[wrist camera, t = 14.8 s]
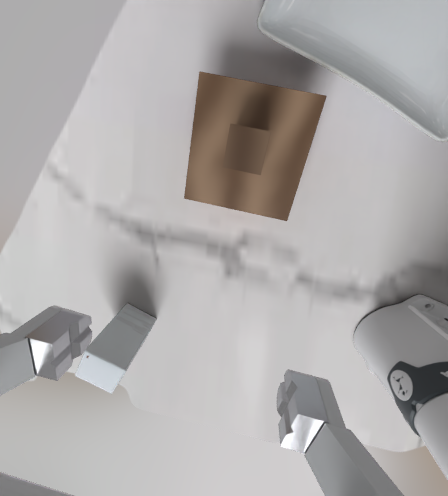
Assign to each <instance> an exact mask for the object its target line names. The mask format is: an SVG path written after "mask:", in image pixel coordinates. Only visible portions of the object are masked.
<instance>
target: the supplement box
mask: <svg viewBox="0 0 448 496" xmlns="http://www.w3.org/2000/svg"><path fill="white" fill-rule="evenodd" d="M155 321H156V318H154V317H152V316H150V315H149V314H147V313H145V312H143V311H141V310H139V309H137V308H136V307H134V306H132V305H130V304H128V303H127V304H126V305H125V306H124V307H123V308H122V309H121V311H120V312H119V313H118V314H117V315H116V316H115V317H114V318H113V319H112V321H111V322H110V323H109V324H108V325H107V326H106V327H105V328H104V329H103V331H102V332H101V333H100V334H99V335H98V336H97V337H96V338H95V339H94V340H93V342H92V343H91V344H90V345H89V346H88V347H87V349H86V350H85V351H84V354H83V357H82V359H81V362H80V364H79V366H78V369H77V371H76V374H75V376H76V377H78V378H81V379H83V380H85V381H87V382H89V383H91V384H93V385H95V386H97V387H99V388H101V389H103V390H105V391H107V392H109V393H111V394H112V393H113V392H114V390H115V388H116V387H117V385H118V384H119V382H120V381H121V379H122V377H123V376H124V374H125V372H126V371H127V369H128V367H129V366H130V364H131V362H132V361H133V359H134V357H135V356H136V354H137V352H138V351H139V349H140V347H141V346H142V344H143V343H144V341H145V339H146V338H147V336H148V334H149V332H150V331H151V329H152V327H153V325H154V323H155Z"/></svg>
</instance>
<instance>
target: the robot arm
mask: <svg viewBox="0 0 448 496" xmlns="http://www.w3.org/2000/svg"><path fill="white" fill-rule="evenodd" d="M426 304H427V305H426ZM91 323H92V321H91V316H88V315H85V314H82V313H79V312H75V311H72V310H69V309H65V308H62V307H58V306H51V307H49V308H47V309H46V310H44V311H43V312H41V313H40V314H38V315H37V316H35V317H34V318H32V319H31V320H29V321H28V322H26V323H25V324H24V325H22V326H21V327H19V328H18V329H16V330H15V331H13V332H12V333H3V334H0V396H1V395H2V394H4V393H6V392H8V391H9V390H11V389H13V388H15V387H17V386H19V385H21V384H22V383H24V382H26V381H28V380H30V379H32V378H33V377H35V375H36V376H41V377H45V378H48V379H52V380H56V381H58V380H59V378H60V377H61V376H62V375H63V374H64V373H65V372H66V371H67V370H68V369H69V368H70V367H71V366H72V362H73V359H74V358H76V357H78V356H80V355H82V354H83V353H84V351H85V350H86V349H87V347H88V346H89V344H90V342H91V339H92V331H91V329H90V328H89V325H90V324H91ZM354 346H355V349H356V350H357V352H358V353H359V354H360V355H361V357H362V358H363V359H364V360H365V361H366V365H367V368H368V370H369V371H370V372H371V374H373V375H375V376H376V377H377V378H378V379H379V381H380V382H381V384H382V385H383V386H384V388H385V389H386V390H387V392H388V393H389V395H390V396H391V397H392V399H393V400H394V401H395V403H396V404H397V406H398V408H399V409H400V411H401V413H402V414H403V417H404V419H405V420H406V422H407V423H408V424H409V425H410V427H411V428H412V430H413V431H414V432H415V433H416V434H417V435H418V436H419V437H421V438H422V440H423V441H424V443H425V445H426V446H427V448H428V449H429V451H430V453H431V454H432V456H433V458H434V459H435V461H436V462H437V464H438V466H439V467H440V469H441V471H442V472H443V474H444V475H445V477H446V479H447V480H448V306H447V305H445V304H443V303H440V302H438V301H436V300H433V299H431V298H429V297H427V296H424V295H416V296H413V297H411V298H409V299H407V300H406V301H404V302H402V303H400V304H396V305H392V306H388V307H384V308H381V309H379V310H377V311H375V312H373V313H371V314H370V315H368V316H367V317H366V318H365V319H363V320H362V321H361V323H360V324H359V325H358V327H357V329H356V331H355V333H354ZM284 379H285V381H284V382H282V383H281V384H280V386H279V389H278V393H277V411H278V413H279V414H280V416H281V420H280V422H279V424H278V425H279V435H280V446H282V447H285V448H288V449H292V450H294V451H297V452H300V453H304V454H305V457H306V459H307V461H308V463H309V465H310V467H311V469H312V471H313V473H314V475H315V477H316V479H317V481H318V483H319V485H320V487H321V488H322V491H323V493H324V494H325V496H404V495H403V494H402V493H401V491H400V490H399V489H398V488H397V486H396V485H395V484H394V483H393V482H392V480H391V479H390V478H389V477H388V475H387V474H386V473H385V472H384V471H383V469H382V468H381V467H380V466H379V464H378V463H377V462H376V461H375V459H374V458H373V457H372V456H371V455H370V453H369V452H368V451H367V450H366V449H365V447H364V446H363V445H362V443H361V442H360V441H359V440H358V439H357V437H356V436H355V435H354V434H353V432H352V431H351V430H349V429H346V427H345V424H344V421H343V418H342V416H341V413H340V410H339V407H338V404H337V401H336V399H335V396H334V393H333V390H332V387H331V384H330V382H329V381H328V380H326V379H323V378H319V377H315V376H312V375H308V374H304V373H300V372H296V371H293V370H289V369H288V370H287V371H286V373H285V375H284ZM0 496H73V495H70V494H67V493H64V492H61V491H58V490H54V489H51V488H48V487H45V486H42V485H39V484H36V483H33V482H30V481H27V480H23V479H20V478H17V477H14V476H11V475H8V474H5V473H2V472H0Z"/></svg>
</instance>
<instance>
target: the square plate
mask: <svg viewBox="0 0 448 496" xmlns="http://www.w3.org/2000/svg"><path fill="white" fill-rule="evenodd" d="M257 26H258V29H259V30H260V31H261V32H262V33H264V34H265V35H266V36H268V37H269V38H271V39H273V40H274V41H276V42H278V43H279V44H281V45H283V46H285V47H287V48H289V49H291V50H293V51H295V52H296V53H298V54H300V55H302V56H304V57H306V58H308V59H310V60H312V61H314V62H316V63H317V64H319V65H321V66H323V67H325V68H327V69H329V70H330V71H332V72H334V73H336V74H337V75H339V76H341V77H343V78H344V79H346V80H348V81H350V82H351V83H353V84H355V85H356V86H358V87H360V88H361V89H363V90H364V91H366V92H367V93H369V94H370V95H372V96H373V97H375V98H376V99H378V100H379V101H381V102H382V103H384V104H385V105H386V106H388V107H389V108H391V109H392V110H393V111H395V112H396V113H397V114H399V115H400V116H402V117H403V118H404V119H406V120H407V121H408V122H410V123H411V124H412V125H414V126H415V127H416V128H418V129H419V130H420V131H422V132H423V133H425V134H426V135H428V136H429V137H431V138H433V139H435V140H437V141H439V142H447V141H448V0H265V1H264V3H263V6H262V8H261V11H260V13H259V16H258V20H257Z"/></svg>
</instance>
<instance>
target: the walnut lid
mask: <svg viewBox="0 0 448 496" xmlns="http://www.w3.org/2000/svg"><path fill="white" fill-rule="evenodd" d="M325 99H326V96H324V95H319V94H314V93H309V92H304V91H298V90H293V89H288V88H283V87H278V86H272V85H267V84H262V83H257V82H252V81H246V80H241V79H236V78H231V77H226V76H220V75H215V74H210V73H205V72H199V80H198V89H197V97H196V105H195V113H194V122H193V130H192V138H191V146H190V155H189V163H188V171H187V179H186V188H185V196H184V198H185V199H189V200H194V201H198V202H203V203H207V204H212V205H216V206H221V207H225V208H230V209H235V210H239V211H244V212H248V213H253V214H257V215H262V216H266V217H271V218H275V219H280V220H284V221H287V219H288V216H289V213H290V210H291V207H292V204H293V200H294V197H295V194H296V191H297V188H298V185H299V182H300V178H301V175H302V172H303V169H304V166H305V163H306V159H307V156H308V153H309V150H310V147H311V144H312V140H313V137H314V134H315V131H316V128H317V125H318V121H319V118H320V115H321V112H322V109H323V106H324V102H325Z"/></svg>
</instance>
